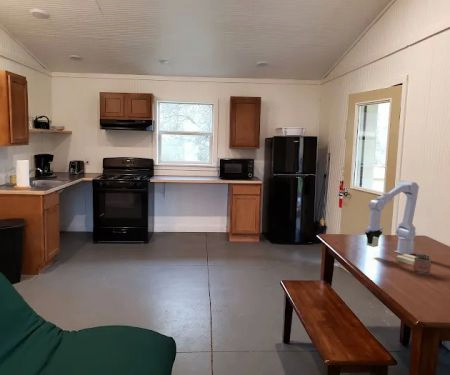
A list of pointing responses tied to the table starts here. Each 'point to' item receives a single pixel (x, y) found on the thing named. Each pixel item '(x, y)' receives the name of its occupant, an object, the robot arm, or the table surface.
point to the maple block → (406, 259)
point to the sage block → (374, 242)
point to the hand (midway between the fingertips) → (372, 243)
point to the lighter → (422, 264)
